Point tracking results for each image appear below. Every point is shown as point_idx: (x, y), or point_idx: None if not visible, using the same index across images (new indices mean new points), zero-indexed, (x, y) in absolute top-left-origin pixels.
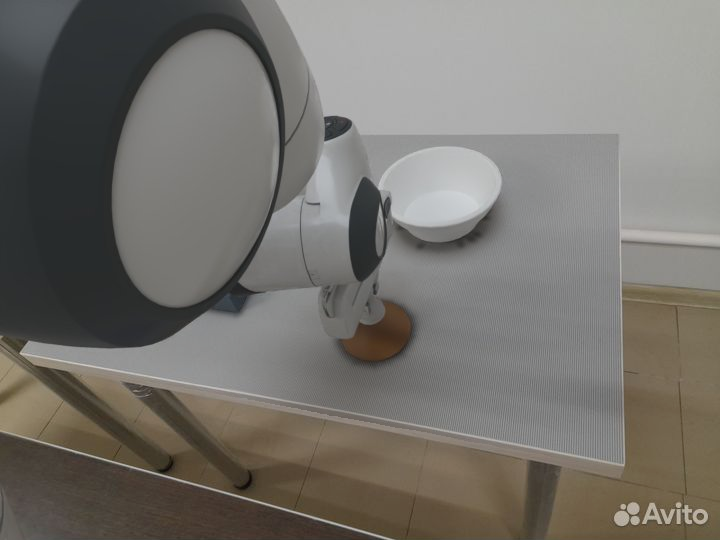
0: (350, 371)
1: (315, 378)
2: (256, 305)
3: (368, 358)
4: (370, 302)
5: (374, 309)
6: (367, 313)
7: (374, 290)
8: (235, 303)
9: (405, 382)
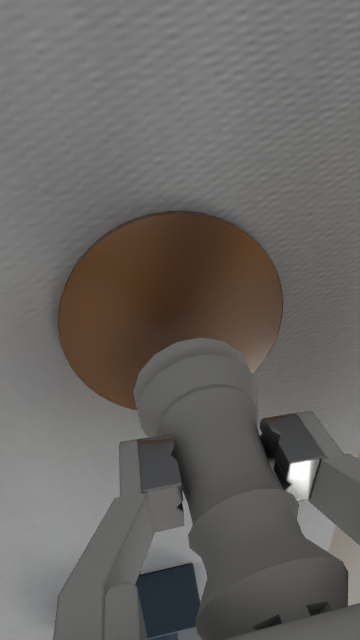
0: (308, 334)
1: (327, 393)
2: (168, 552)
3: (277, 308)
4: (256, 449)
5: (238, 399)
6: (328, 434)
7: (177, 467)
8: (191, 591)
9: (342, 169)
